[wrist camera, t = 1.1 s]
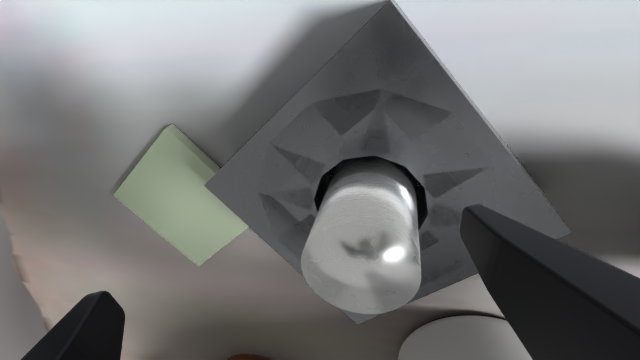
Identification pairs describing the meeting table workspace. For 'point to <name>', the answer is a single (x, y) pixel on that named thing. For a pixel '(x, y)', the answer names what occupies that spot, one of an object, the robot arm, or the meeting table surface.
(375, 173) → the silver upright cylinder
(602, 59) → the meeting table surface
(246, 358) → the food container
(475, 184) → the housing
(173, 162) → the mat
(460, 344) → the cylinder vase
